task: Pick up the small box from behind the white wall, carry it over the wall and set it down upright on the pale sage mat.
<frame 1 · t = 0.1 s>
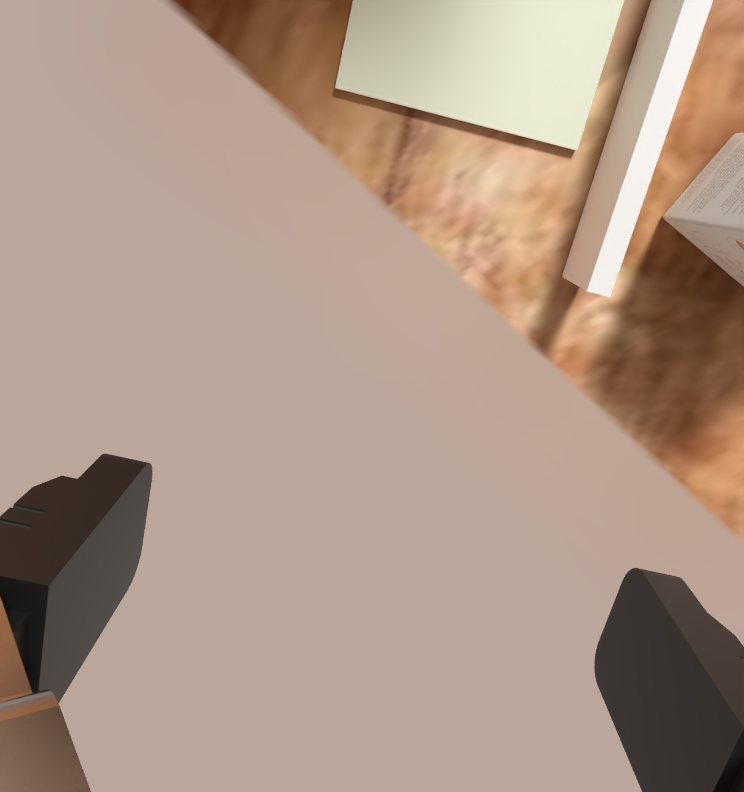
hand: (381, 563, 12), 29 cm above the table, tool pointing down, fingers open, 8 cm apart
white wall: (634, 90, 36), on the table
sage mat: (486, 5, 35), on the table
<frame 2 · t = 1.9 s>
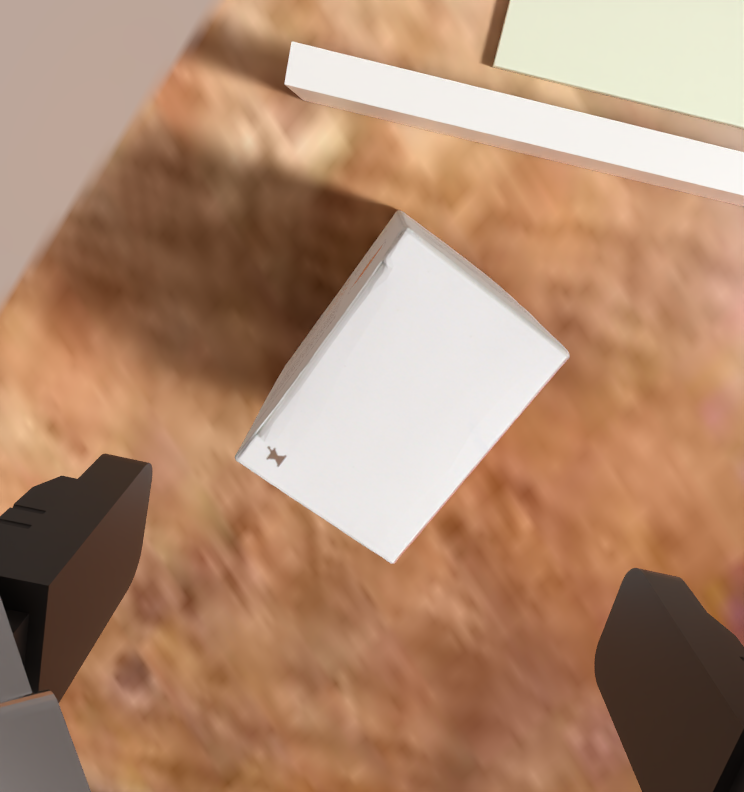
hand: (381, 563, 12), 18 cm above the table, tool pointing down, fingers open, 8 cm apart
white wall: (568, 146, 26), on the table
small box: (394, 327, 29), on the table
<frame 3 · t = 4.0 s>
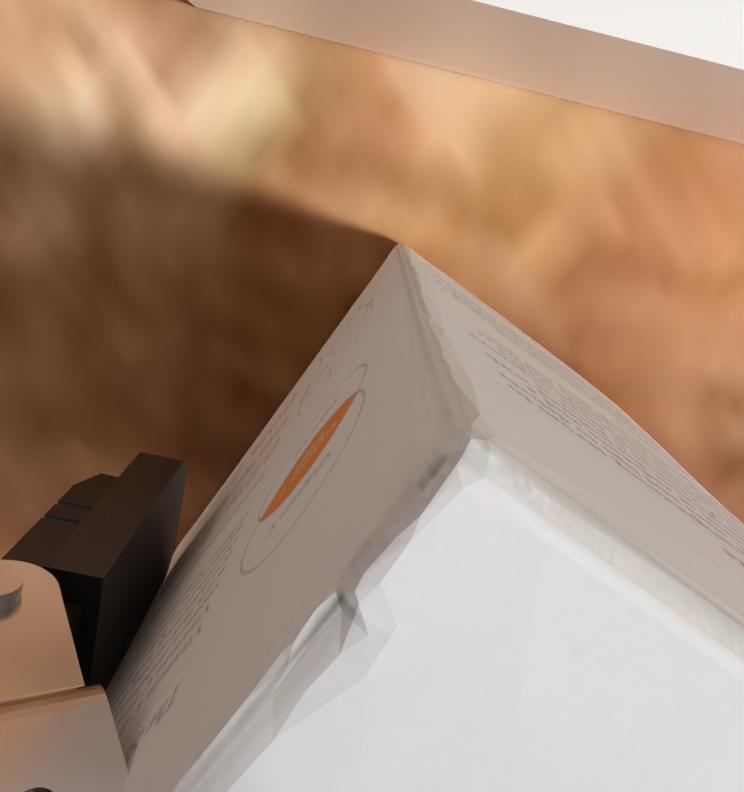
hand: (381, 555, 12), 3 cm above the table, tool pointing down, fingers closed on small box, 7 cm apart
small box: (391, 468, 15), on the table, touching gripper
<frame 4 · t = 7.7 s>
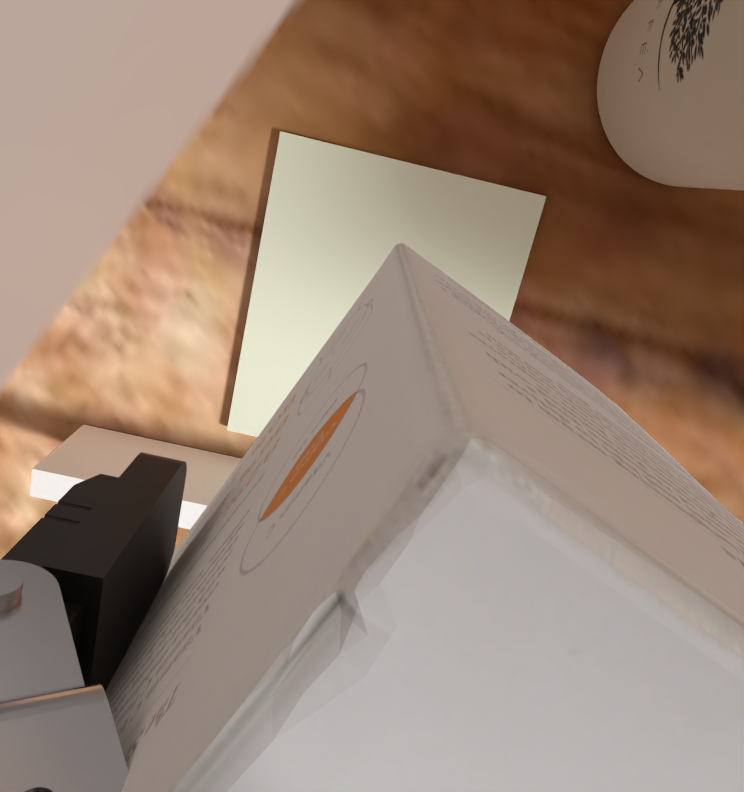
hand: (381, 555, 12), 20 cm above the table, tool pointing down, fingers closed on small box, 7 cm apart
white wall: (295, 482, 33), on the table
travel mug: (694, 81, 28), on the table
small box: (391, 468, 15), point 16 cm above the table, touching gripper
sage mat: (377, 317, 30), on the table
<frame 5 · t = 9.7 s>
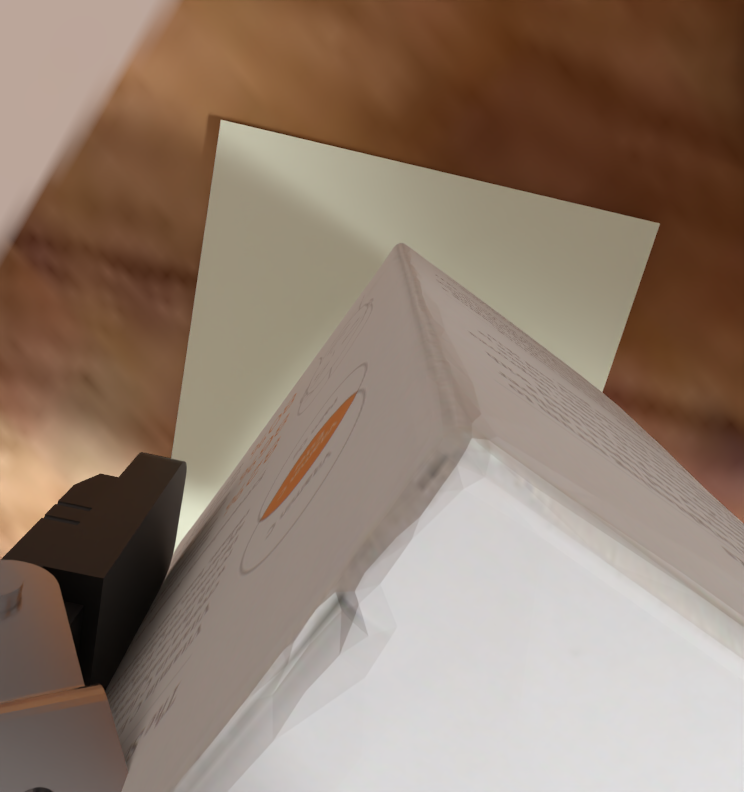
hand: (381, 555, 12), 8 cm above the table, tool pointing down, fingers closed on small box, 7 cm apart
small box: (391, 468, 15), point 5 cm above the table, touching gripper
sage mat: (384, 413, 19), on the table
when the fingers open (5 cm above the table, at t = 11.4 s): small box drops 1 cm, resting on sage mat.
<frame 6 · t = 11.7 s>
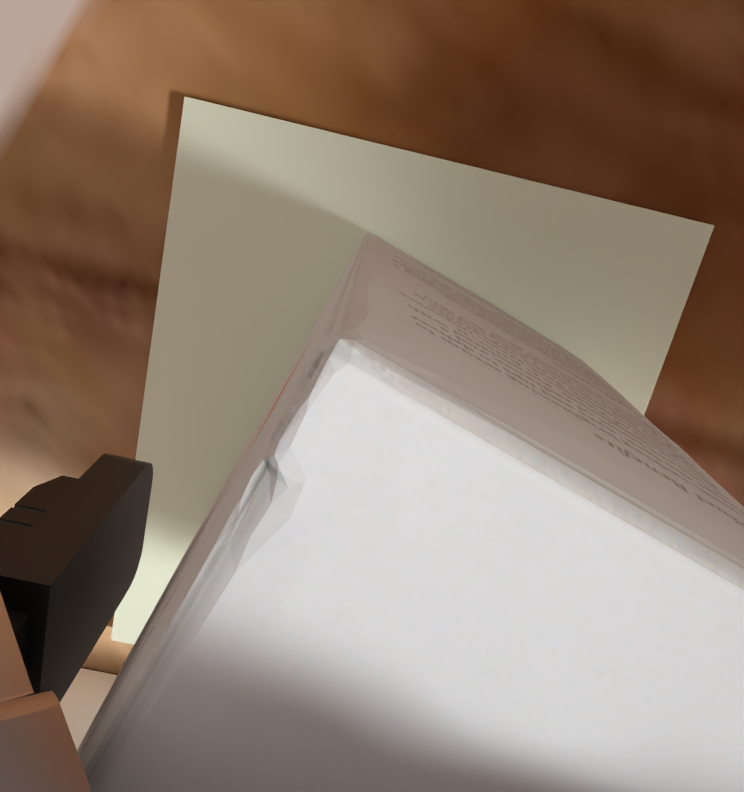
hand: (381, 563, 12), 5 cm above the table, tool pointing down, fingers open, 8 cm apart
white wall: (237, 717, 19), on the table
small box: (385, 439, 16), resting on sage mat
sage mat: (381, 447, 16), on the table
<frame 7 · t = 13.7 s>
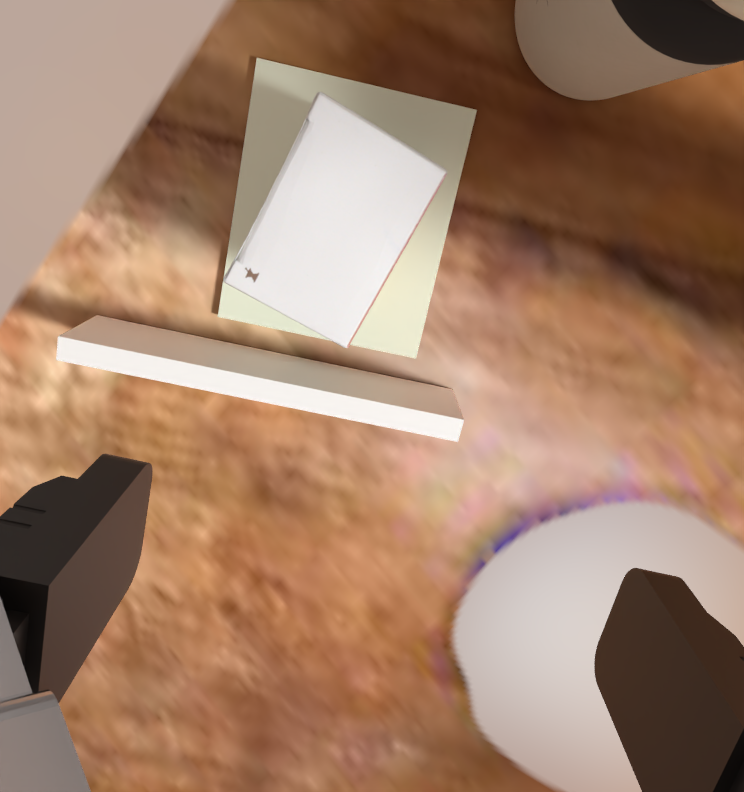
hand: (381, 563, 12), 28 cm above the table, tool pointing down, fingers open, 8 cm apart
white wall: (276, 363, 39), on the table
travel mug: (594, 12, 34), on the table
small box: (343, 211, 36), resting on sage mat
sage mat: (341, 217, 37), on the table
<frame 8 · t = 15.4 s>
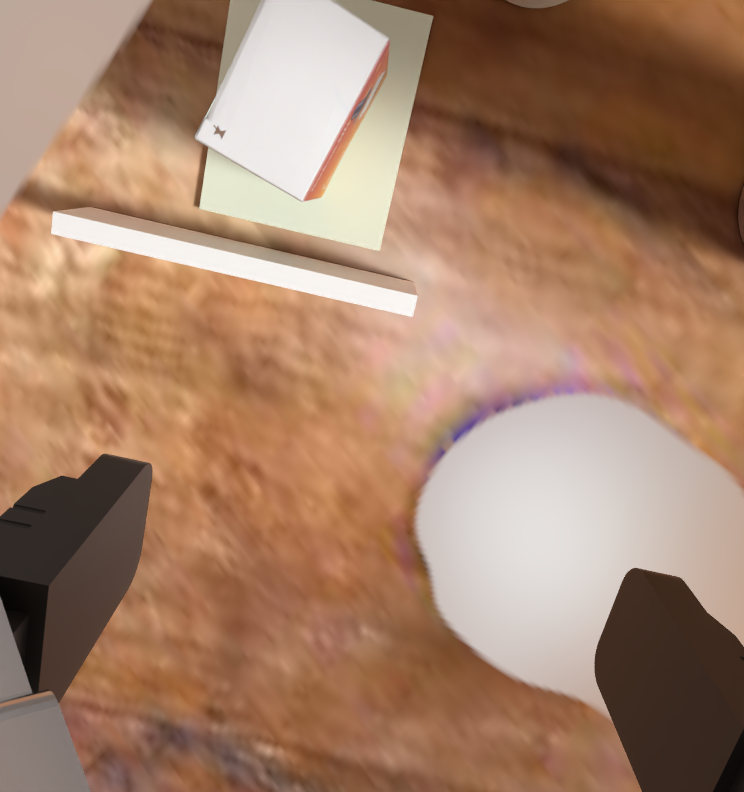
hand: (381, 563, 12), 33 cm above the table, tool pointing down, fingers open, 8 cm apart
white wall: (252, 254, 43), on the table
small box: (313, 111, 40), resting on sage mat
sage mat: (312, 116, 40), on the table
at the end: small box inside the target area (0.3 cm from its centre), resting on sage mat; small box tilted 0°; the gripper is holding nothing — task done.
